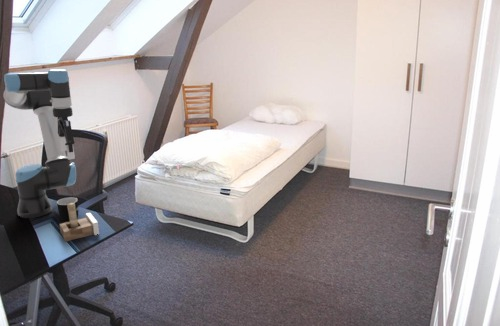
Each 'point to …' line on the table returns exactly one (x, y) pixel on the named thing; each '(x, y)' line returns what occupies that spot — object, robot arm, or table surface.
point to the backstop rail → (93, 223)
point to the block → (76, 229)
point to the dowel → (72, 215)
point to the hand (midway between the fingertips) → (67, 154)
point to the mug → (66, 208)
